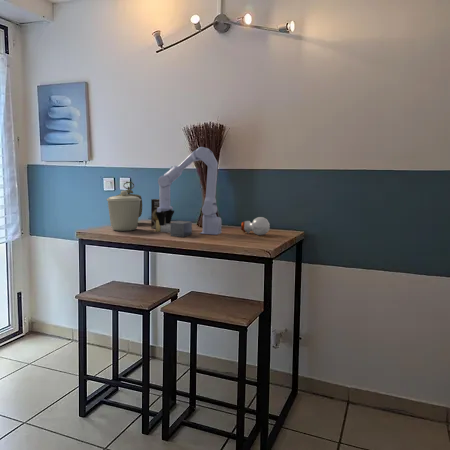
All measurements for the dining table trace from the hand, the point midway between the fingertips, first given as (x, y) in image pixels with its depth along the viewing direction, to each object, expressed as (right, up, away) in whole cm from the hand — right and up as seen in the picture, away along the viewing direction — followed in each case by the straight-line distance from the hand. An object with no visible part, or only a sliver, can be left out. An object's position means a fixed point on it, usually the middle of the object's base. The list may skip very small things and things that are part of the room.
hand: (165, 224), depth 224 cm
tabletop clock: (-26, 0, +30) cm, 40 cm away
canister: (-22, -3, +4) cm, 23 cm away
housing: (+10, -5, -12) cm, 17 cm away
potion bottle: (+47, -5, -5) cm, 48 cm away
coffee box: (-4, -2, +13) cm, 14 cm away
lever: (+1, -4, 0) cm, 4 cm away
